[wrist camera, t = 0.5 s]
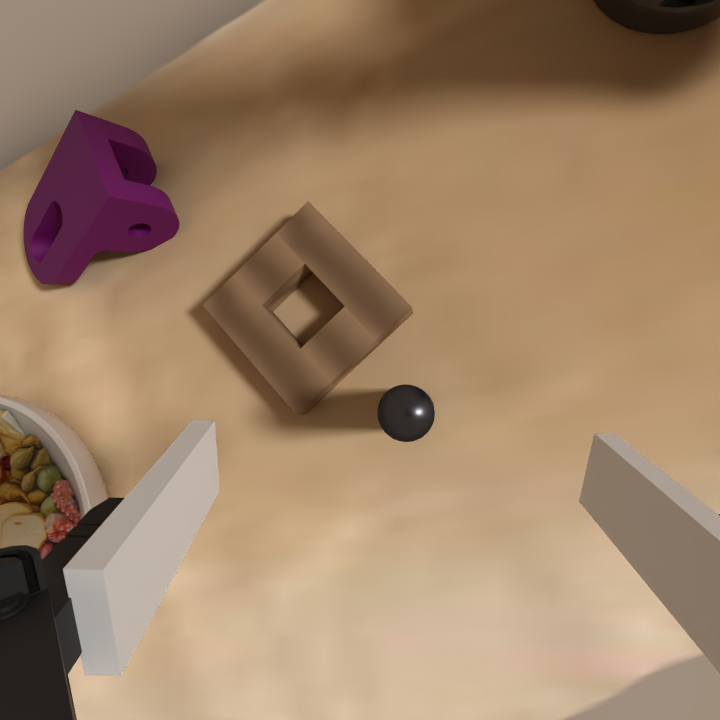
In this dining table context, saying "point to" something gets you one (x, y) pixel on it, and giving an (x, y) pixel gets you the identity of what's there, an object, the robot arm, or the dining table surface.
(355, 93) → the dining table surface
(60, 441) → the bowl
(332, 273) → the socket block
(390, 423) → the grey and black cylinder
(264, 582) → the dining table surface
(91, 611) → the robot arm
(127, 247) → the mounting bracket
